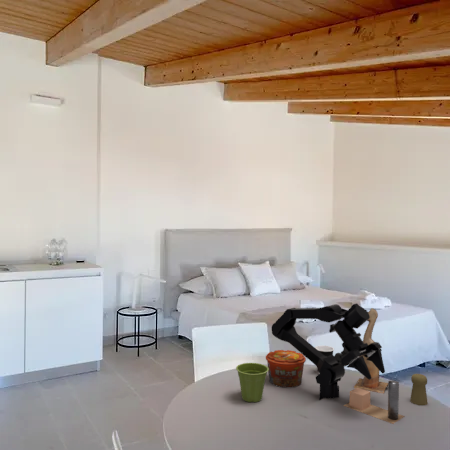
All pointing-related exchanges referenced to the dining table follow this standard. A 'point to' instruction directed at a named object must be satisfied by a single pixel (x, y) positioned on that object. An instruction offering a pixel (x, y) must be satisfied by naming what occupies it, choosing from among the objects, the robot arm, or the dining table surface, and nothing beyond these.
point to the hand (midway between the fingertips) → (377, 375)
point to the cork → (419, 389)
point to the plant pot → (252, 380)
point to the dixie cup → (325, 350)
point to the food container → (285, 368)
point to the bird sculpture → (373, 370)
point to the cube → (359, 398)
